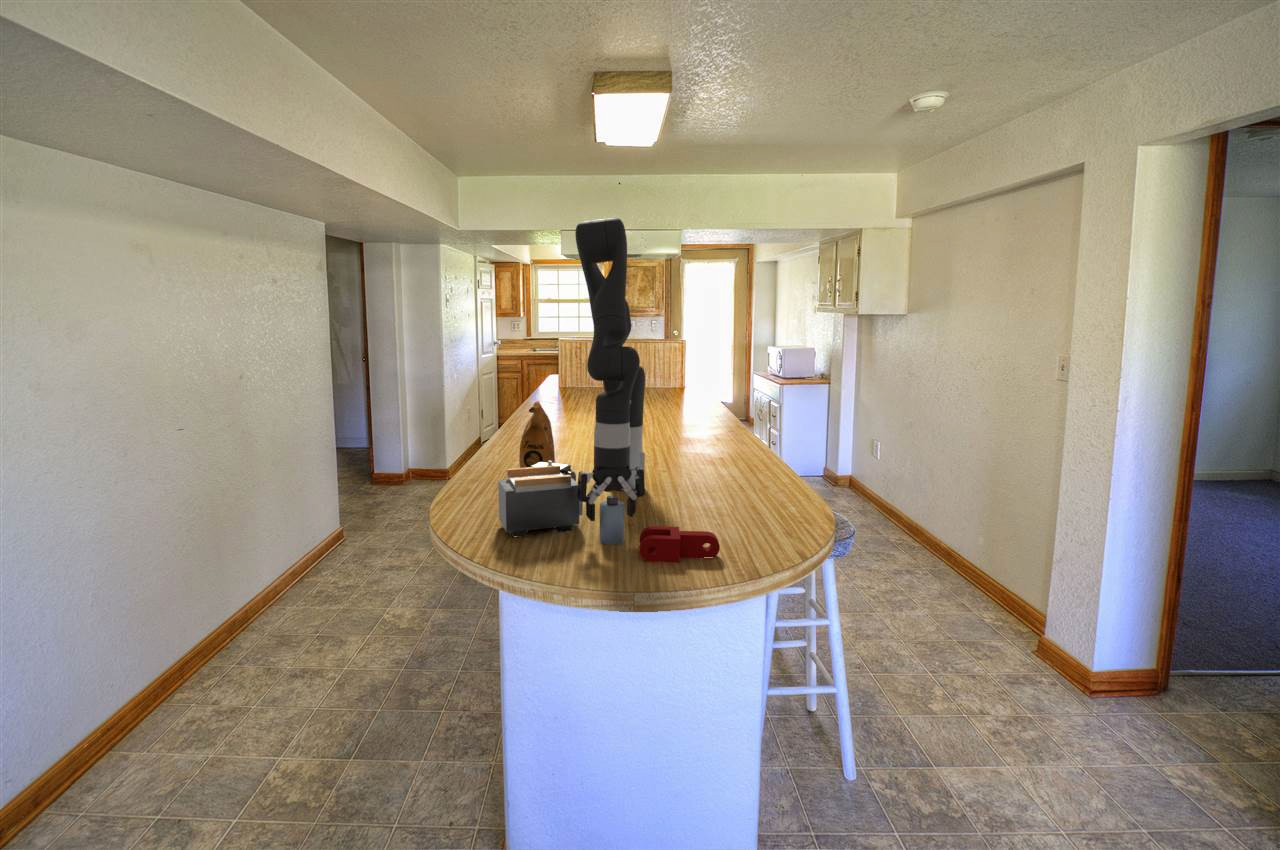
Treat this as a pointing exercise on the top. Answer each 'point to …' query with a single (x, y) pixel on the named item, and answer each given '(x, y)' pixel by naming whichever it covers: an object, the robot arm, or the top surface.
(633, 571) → the top surface
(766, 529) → the top surface
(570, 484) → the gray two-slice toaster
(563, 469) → the pneumatic valve
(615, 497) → the blue-gray bottle
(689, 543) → the mechanical linkage
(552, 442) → the coffee package
